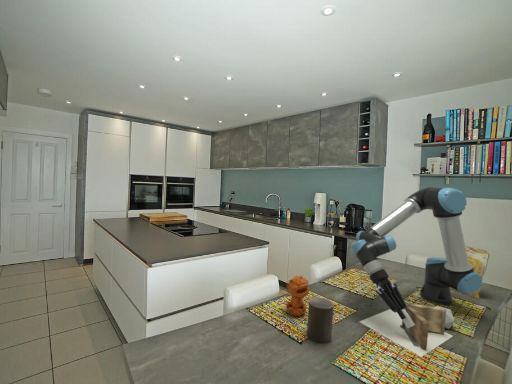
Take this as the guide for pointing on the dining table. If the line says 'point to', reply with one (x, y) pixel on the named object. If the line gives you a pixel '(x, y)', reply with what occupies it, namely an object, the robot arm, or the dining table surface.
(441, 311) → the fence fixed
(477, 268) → the pancake mix bag
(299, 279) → the orange carved figurine
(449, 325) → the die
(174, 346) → the dining table surface
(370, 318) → the board
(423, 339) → the fence gate
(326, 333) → the pillar candle
